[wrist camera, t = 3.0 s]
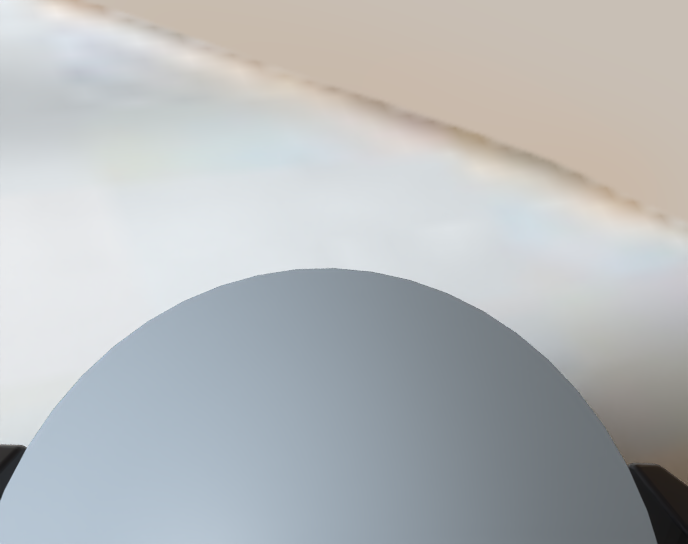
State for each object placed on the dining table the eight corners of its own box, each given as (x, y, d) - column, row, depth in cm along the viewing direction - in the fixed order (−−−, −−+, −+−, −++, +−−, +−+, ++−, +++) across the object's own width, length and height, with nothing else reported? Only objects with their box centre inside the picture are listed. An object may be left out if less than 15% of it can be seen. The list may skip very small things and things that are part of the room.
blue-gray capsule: (420, 606, 15) (737, 1099, 3) (243, 600, 15) (-129, 1066, 3) (418, 424, 16) (626, 277, 4) (257, 419, 16) (42, 258, 4)
